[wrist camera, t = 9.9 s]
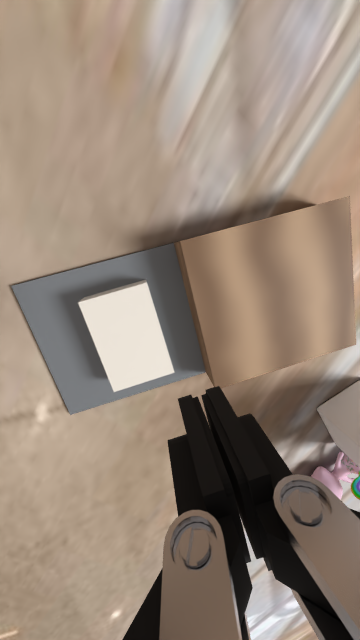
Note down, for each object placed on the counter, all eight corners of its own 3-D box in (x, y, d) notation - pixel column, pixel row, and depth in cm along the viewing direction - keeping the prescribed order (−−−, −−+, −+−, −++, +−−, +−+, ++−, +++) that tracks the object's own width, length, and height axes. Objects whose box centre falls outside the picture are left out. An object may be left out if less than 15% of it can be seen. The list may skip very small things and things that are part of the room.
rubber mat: (173, 242, 24) (173, 242, 23) (205, 370, 28) (205, 372, 27) (12, 285, 22) (11, 286, 22) (71, 413, 26) (70, 414, 26)
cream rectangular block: (77, 302, 21) (84, 297, 23) (113, 392, 23) (116, 379, 26) (146, 282, 21) (146, 279, 24) (174, 372, 24) (171, 361, 26)
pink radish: (349, 420, 35) (269, 492, 33) (396, 447, 29) (304, 537, 27) (362, 449, 37) (287, 519, 35) (409, 480, 31) (323, 566, 29)
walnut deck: (317, 204, 25) (349, 196, 21) (327, 332, 29) (356, 344, 25) (173, 242, 24) (180, 241, 20) (205, 370, 28) (216, 389, 24)
